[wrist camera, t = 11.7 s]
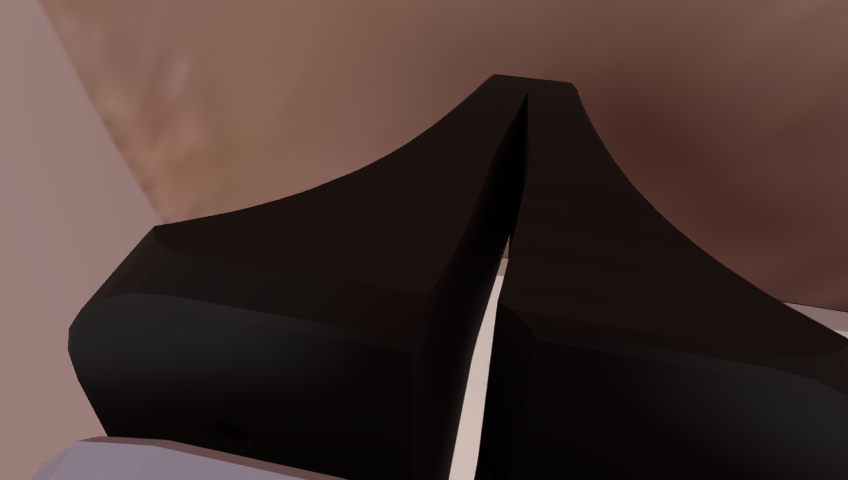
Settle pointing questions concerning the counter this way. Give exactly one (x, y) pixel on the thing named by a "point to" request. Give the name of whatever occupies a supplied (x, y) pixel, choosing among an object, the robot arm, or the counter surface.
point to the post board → (479, 370)
